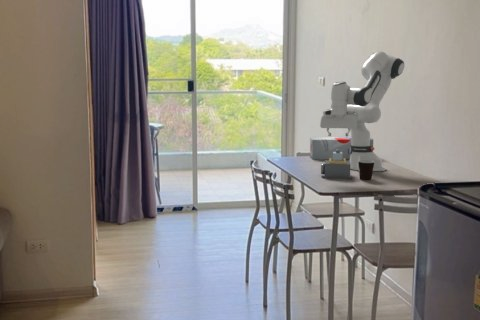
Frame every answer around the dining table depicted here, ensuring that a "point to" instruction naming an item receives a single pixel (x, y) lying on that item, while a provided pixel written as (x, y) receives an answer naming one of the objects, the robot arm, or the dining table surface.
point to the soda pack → (330, 147)
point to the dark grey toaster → (336, 169)
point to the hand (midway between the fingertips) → (338, 136)
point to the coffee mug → (365, 169)
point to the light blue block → (337, 156)
